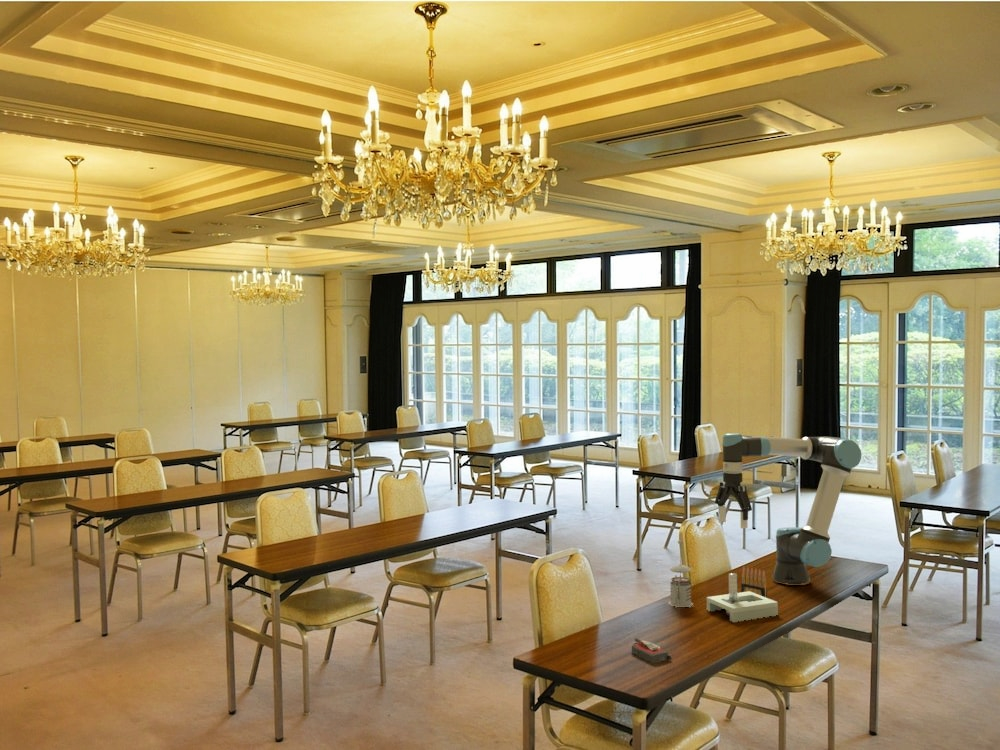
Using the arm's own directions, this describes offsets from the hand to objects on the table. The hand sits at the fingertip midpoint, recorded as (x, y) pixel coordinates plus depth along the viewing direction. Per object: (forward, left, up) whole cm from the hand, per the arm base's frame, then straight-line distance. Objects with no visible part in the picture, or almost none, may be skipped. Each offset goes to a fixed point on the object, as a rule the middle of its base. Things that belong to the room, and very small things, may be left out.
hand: (733, 525), depth 327 cm
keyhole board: (+11, +19, -29) cm, 36 cm away
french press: (+26, +1, -29) cm, 39 cm away
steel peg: (+15, +19, -29) cm, 37 cm away
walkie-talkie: (+66, +41, -29) cm, 83 cm away
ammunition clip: (-6, +5, -29) cm, 30 cm away
